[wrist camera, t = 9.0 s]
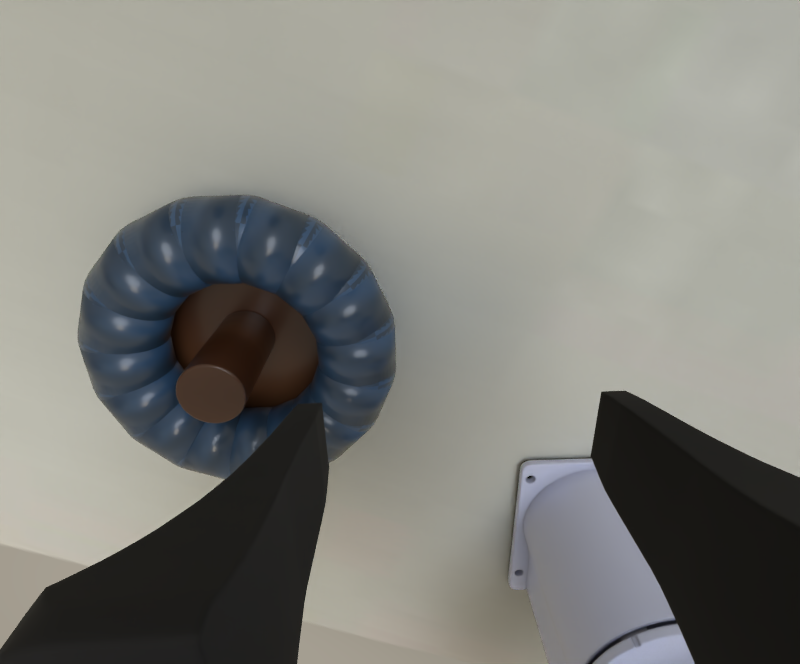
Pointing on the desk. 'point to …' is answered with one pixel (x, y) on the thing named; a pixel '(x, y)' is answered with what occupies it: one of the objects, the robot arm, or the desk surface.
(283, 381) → the peg stand
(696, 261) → the desk surface
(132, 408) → the ring
